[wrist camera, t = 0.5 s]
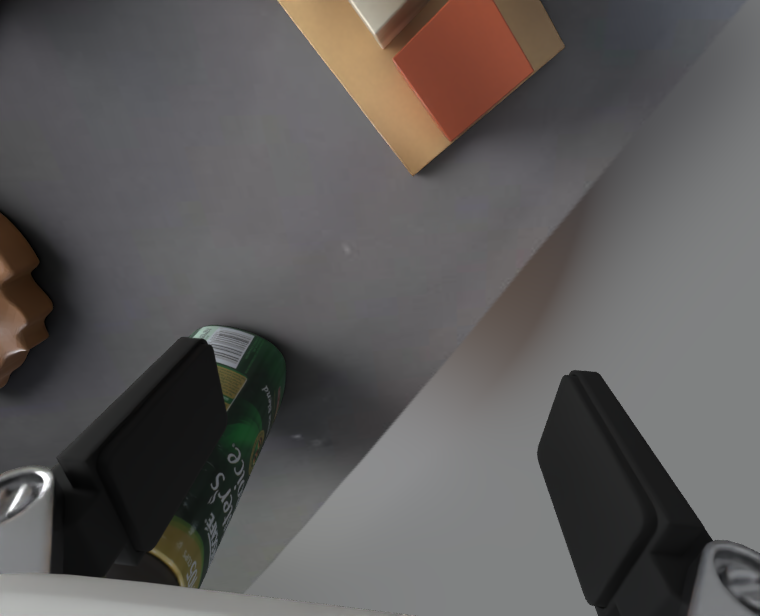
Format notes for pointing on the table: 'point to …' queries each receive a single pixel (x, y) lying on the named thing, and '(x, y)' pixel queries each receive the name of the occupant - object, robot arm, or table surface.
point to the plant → (18, 300)
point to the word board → (384, 40)
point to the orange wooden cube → (462, 64)
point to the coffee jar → (218, 460)
